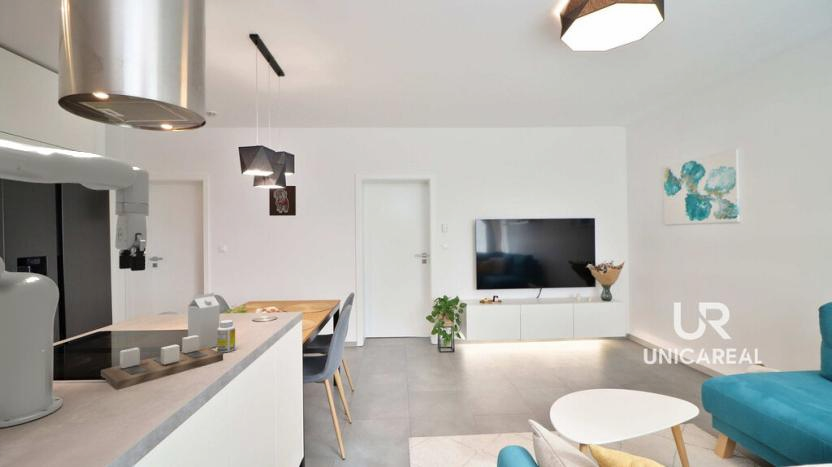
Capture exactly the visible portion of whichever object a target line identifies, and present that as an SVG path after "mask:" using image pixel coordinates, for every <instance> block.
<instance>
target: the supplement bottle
mask: <svg viewBox="0 0 832 467" xmlns="http://www.w3.org/2000/svg"><path fill="white" fill-rule="evenodd" d="M216 348H217V349H216V350H217V352H220V353H229V352H233V351H234V350H236V326H235V325H234V322H233V320H232V319H224V320H221V321H220V320H219V328H218V329H217V346H216Z"/></svg>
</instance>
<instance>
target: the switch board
mask: <svg viewBox="0 0 832 467" xmlns="http://www.w3.org/2000/svg"><path fill="white" fill-rule="evenodd" d="M223 360H224V353H223V352H218V350H217V351H216V350H214V349H212V348H207V347H204V346H201V347H199V350H197V351H193V352H189V353H184V352H182V350H180V357H179V361H177V362H173V363H169V364H165V365H164V364H162V363H161V355H159V356H155V357H150V358H147V359H140V364H139V365H135V366H130V367H126V368H121V367H120V365H116V366H112V367H108V368H105V369H104V368H103V369H101V370H100V377H101V376H102V377H103V378H105V379H106V381H105V382H106V383H108V384H110V386H112V387H113V388H114V389H116V390H120V389H124V388H127V387H131V386H135V385H139V384H142V383H145V382H149V381H153V380H157V379H160V378H163V377H168V376H170V375H174V374H178V373H181V372H184V371H188V370H189V371H190V370H192V369H196V368H199V367H204V366H207V365H210V364H214V363H217V362H222V361H223ZM102 377H101V378H102ZM103 378H102V379H103Z"/></svg>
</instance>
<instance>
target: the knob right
mask: <svg viewBox="0 0 832 467" xmlns="http://www.w3.org/2000/svg"><path fill="white" fill-rule="evenodd" d="M181 339H182V340H181V341H182V342H181V351H182V352H184V353H189V352H193V351H197V350H199V336H197V335H194V336H189V337H188V336H185V337H182V338H181Z"/></svg>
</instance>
